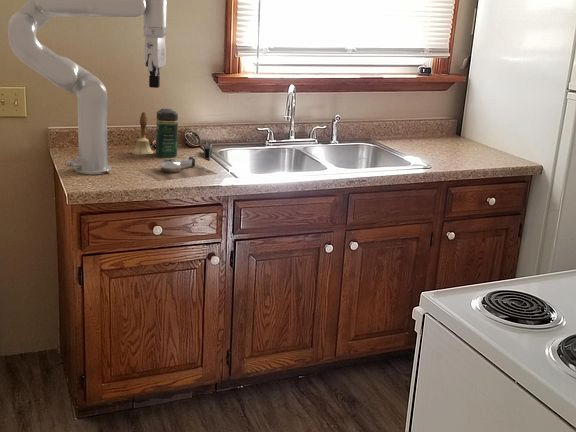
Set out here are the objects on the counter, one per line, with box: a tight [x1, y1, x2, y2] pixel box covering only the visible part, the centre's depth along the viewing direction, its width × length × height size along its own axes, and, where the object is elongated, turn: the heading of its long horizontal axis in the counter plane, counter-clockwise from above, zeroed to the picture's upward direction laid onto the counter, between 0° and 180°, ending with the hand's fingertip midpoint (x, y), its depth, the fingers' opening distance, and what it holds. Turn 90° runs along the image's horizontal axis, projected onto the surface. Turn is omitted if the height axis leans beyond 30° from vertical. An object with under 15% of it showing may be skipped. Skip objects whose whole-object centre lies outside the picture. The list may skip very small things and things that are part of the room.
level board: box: [138, 163, 219, 182], centre depth 244 cm, size 23×15×1 cm, turn 127°
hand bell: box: [131, 111, 154, 156], centre depth 269 cm, size 8×8×16 cm
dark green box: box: [203, 141, 213, 162], centre depth 272 cm, size 5×3×15 cm
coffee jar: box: [155, 108, 179, 159], centre depth 264 cm, size 10×8×19 cm
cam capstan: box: [160, 156, 196, 172], centre depth 246 cm, size 14×7×3 cm, turn 140°
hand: (154, 87), depth 241 cm, fingers closed
